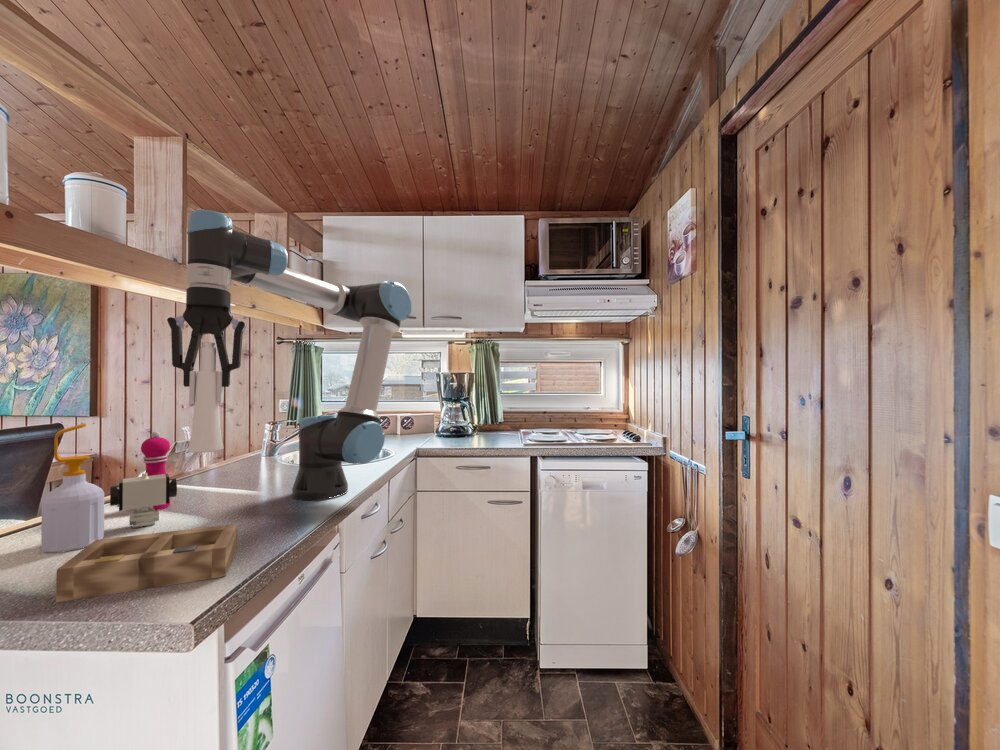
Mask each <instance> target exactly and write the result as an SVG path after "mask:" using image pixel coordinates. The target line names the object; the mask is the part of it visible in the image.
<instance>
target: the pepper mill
mask: <svg viewBox="0 0 1000 750" xmlns="http://www.w3.org/2000/svg"><path fill="white" fill-rule="evenodd" d="M160 436H161V433H160V432H159V431H156V430H155V431H152V433H151V437H149V438H147V439H145V440H144V441H143V442H142V443H141V446H140V451H141V453H142V454H143V455H144V457H143V463H144V464H145V473H147V476H153V475H161V474H167V471H166V462H167V461H168V455H167V454H168V452H169V451H170V450H171V442H169V440H168V439H167V438H165V437H160ZM168 506H169V507H170V506H171V499H169V504H162V505H156V506H153V508H155V511H157V509H160V510H163V509H162V508H164V509H167V508H169V507H168ZM166 507H167V508H166ZM148 508H150V507H148ZM139 510H141V509H139Z"/></svg>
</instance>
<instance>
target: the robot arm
mask: <svg viewBox="0 0 1000 750" xmlns="http://www.w3.org/2000/svg"><path fill="white" fill-rule="evenodd" d="M187 222H188V223H187V231H186V235H187V261H186V262H187V265H186V285H188V286H189V287H187V288H186V296H185V298H186V300H185V302H186V303H185V310H184V312H183V313H182V315H179V316H176V317H172V316H170V317H167V319H166V320H167V324H168V325H169V328H170V333H171V334H170V335H171V337H170V338H171V364H172V365H171V366H173V367H174V368H176V369H177V368H178V369H181V370H182V371H183V382H182V383H183V386H184V387H189V392H188V394H189V395H188V396H189V397H188V404H189V405H191V404H193V405H194V403H195V388H196V377H197V371H198V370H195V364H196V360H197V357H198V353H199V350H200V345H201V343H202V342H201V341H202V339H203V336H204V335H209V334H210V335H212V336H213V337H214V340H215V345H216V351H217V353H218V358H219V364H220V367H221V368H220V370H221V371H217V370H216V371H217V403H219V404H224V401H225V400H224V397H225V391H224V390H225V388H228V387H230V385H231V372H232V371H233V370H234V371H235V370H236V369H240V368H241V363H242V361H241V360H242V348H243V333H244V332H245V329H246V328H247V324H246V323H245V322H244V321H242V320H241V321H239V320H238V319H235V318H234V317H233V315H232V313H231V302H232V301H231V299H232V298H231V297H232V295H231V293H230V292H229V290H231V288H232V281H235V282H238V283H240V284H241V283H242V284H244V285H248V286H250V287H253V288H258V289H261V290H264V291H268V292H270V293H274V294H276V295H280V296H283V297H287V298H290V299H292V300H296V301H300V302H303V303H306V304H309V305H313V306H316V307H319V308H323V309H324V310H325V312H327V314H330V315H333V316H337V317H339V318H343V319H346V320H350V321H352V322H358V323H360V325H361V326H362V327H363V328H362V334H361V337H360V342H359V345H358V350H357V355H356V357H355V363H354V368H353V372H352V376H351V379H350V385H349V388H348V389H349V390H348V393H347V396H346V402H345V405H344V406H343V407H342V408H341V409H339V410H338V411H337V413H334V414H326V415H314V416H313V415H312V416H306V417H303V418H301V419H300V421H299V425H298V427H299V428H298V446H299V447H298V471H297V474H296V476H295V480H294V483H293V485H292V491H291V496H293V497H294V499H295V498H296V500H300V499H301V501H318V500H317V499H322V500H325V499H324V498H329V497H334V496H337V495H341V494H343V493H345V492H346V491H347V490H348V489H349V484H348V480H347V478H346V475H345V472H344V468H343V466H342V465H343V464H342V463H348V464H353V465H357V464H361V465H362V464H369V463H370V462H371V461H373V460H374V459H375V458H377V457H378V456H379V455H380V453H381V451H382V449H383V447H384V445H385V439H386V437H385V434H386V433H385V432H384V429H383V428H384V427H382V425H381V424H380V421H381V417H380V416H379V414H378V412H377V410H378V404H379V400H380V396H381V395H380V394H381V391H382V387H383V381H384V378H385V373H386V372H385V371H386V369H387V368H386V367H387V363H388V358H389V354H390V353H389V352H390V349H391V343H392V339H393V335H394V334H395V333H397V332H399V330H400V326H401V322H402V321H405V320H407V319H408V318H409V317H410V316H411V314H412V310H413V306H412V305H413V304H412V299H411V296H410V294H409V291H408V290H407V289H406V287H405V286H404V285H403V284H401V283H400V282H398V281H382V282H378V283H370V284H361V285H346V284H342V283H339V282H334V283H330V282H327V281H324V280H321V279H319V278H317V277H313V276H311V275H308V274H306V273H303V272H300V271H297V270H294V269H292V268H289V267H287V266H288V262H289V259H288V258H289V255H288V251H287V250H286V247H285V246H283V245H282V244H280V243H278V242H274V241H272V240H270V239H264V238H262V237H258V236H254V235H251V234H248V233H245V232H242V231H239V230H236V229H234V226H233V221H232V218H231V217H229V216H228V215H226V214H224V213H222V212H219V211H215V210H210V209H197V210H195V211H192V212H191V213H189V216H188V221H187ZM185 322H186V323H187V325H188V326H189V327H190V329H192V330H191V334H190V339H189V342H188V343H189V345H188V347H187V352H186V354H185V355H186V356H185V359H184V356H183V355H184V353H183V329H182V328H183V327H184V326H185V324H184V323H185ZM230 325H232V329H233V330H234V333H233V343H232V345H233V346H232V357H231V358H232V359H231V363H230V360H229V356H228V351H227V346H226V341H225V334H224V332H225V331H226V329H227V328H228V327H229V326H230ZM348 491H349V490H348ZM348 491H347V492H348ZM345 494H346V493H345ZM343 495H344V494H343ZM341 496H342V495H341ZM293 497H292V498H293ZM334 498H335V497H334ZM329 499H330V498H329Z"/></svg>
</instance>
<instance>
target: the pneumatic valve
mask: <svg viewBox="0 0 1000 750" xmlns="http://www.w3.org/2000/svg"><path fill="white" fill-rule="evenodd" d="M177 481H178V480H177V478H176V477H175V478H171V477H170V475H169V473H166V474H161V475H153V476H147V473H146V472H145V473H144V472H143V473H141V476H137V477H128V478H119V481H118V482H119V483H117V484H116V485H115V484H114V485H111V486H110V488H109V489H110V493H109V495H110V498H109V505H110V507H112V506H113V507H114V506H116V507H117V508H118V511H119V512H121V511H123V512H124V511H127V510H134V511H132V514H129V518H128V519H129V524H128V525H129V526H132V528H135V529H139V528H138V527H140V528H144V527H143V526H146V527H150V526H149V525H151V526H154V525H156V522H157V521H159V520H160V511H159V510H155V508H153V506H156V505H162V504H169V499H170V500H172V498H175V497H177V493H178V482H177ZM148 507H150V508H148ZM140 509H141V510H140Z"/></svg>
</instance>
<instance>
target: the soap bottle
mask: <svg viewBox="0 0 1000 750" xmlns="http://www.w3.org/2000/svg"><path fill="white" fill-rule="evenodd" d="M85 427H87V424H86V423H82V424H77V425H74V426H70V427H66V428H63V429H60V430H59V431H57V432H56V433H55V436H54V443H53V445H54V448H53V449H54V455H53V457H54V459H55V461H57V462H59V463H64V466H68V471H64V472H63V473H62V484H61V485H60V486H57V487H56V488H54V489H52V490H51V491H50V492H48V493H47V494H45V495H44V497H43V498H42V500H41V531H40V532H41V538H40V539H41V542H40V543H41V545H40V548H41V550H42V551H43V552H44V553H45V552H47V553H51V552H53V553H64V552H63V551H66V552H71V551H70V550H72V551H75V549H77V550H81V549H84V548H83V547H85V548H86V547H87V546H88V545H90V544H91V543H92V542H94V541H95V540H99V539H104V537H105V492H104V490H103V488H101V487H99V486H98V485H97V484H94V483H90V482H88V481H87V476H86V470H85V469H83V470H82V469H81V465H82V464H84V463H85V461H87V460H90V459H91V456H90V455H89V454H86V455H75V456H64V457H63V456H62V457H61V456H60V455H59V451H58V449H59V445H58V443H59V441H58V440H59V436H61V435H62V434H65V433H68V432H72V431H74V430H78V429H82V428H85ZM80 548H81V549H80Z"/></svg>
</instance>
